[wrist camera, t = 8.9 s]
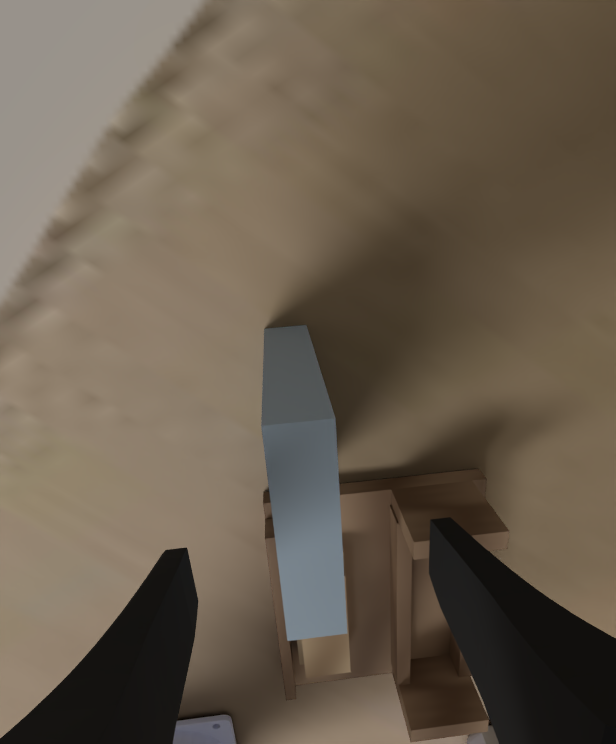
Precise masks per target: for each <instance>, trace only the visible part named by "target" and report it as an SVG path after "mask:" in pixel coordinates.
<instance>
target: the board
mask: <svg viewBox="0 0 616 744" xmlns="http://www.w3.org/2000/svg"><path fill="white" fill-rule="evenodd" d="M261 426H262V435H263V443H264V451H265V460H266V468H267V476H268V484H269V493H270V501H271V509H272V517H273V526H274V534H275V542H276V550H277V559H278V567H279V575H280V583H281V592H282V600H283V608H284V617H285V625H286V633H287V641H292V640H300V639H308V638H316V637H324V636H332V635H340V634H347V618H346V600H345V582H344V564H343V545H342V527H341V509H340V491H339V472H338V454H337V436H336V418H335V415H334V412H333V409H332V405H331V402H330V399H329V396H328V393H327V389H326V386H325V383H324V380H323V377H322V373H321V370H320V367H319V364H318V361H317V357H316V354H315V351H314V348H313V345H312V341H311V338H310V335H309V332H308V328H307V325H300V326H289V327H278V328H267V329H264V360H263V392H262V424H261Z"/></svg>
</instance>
